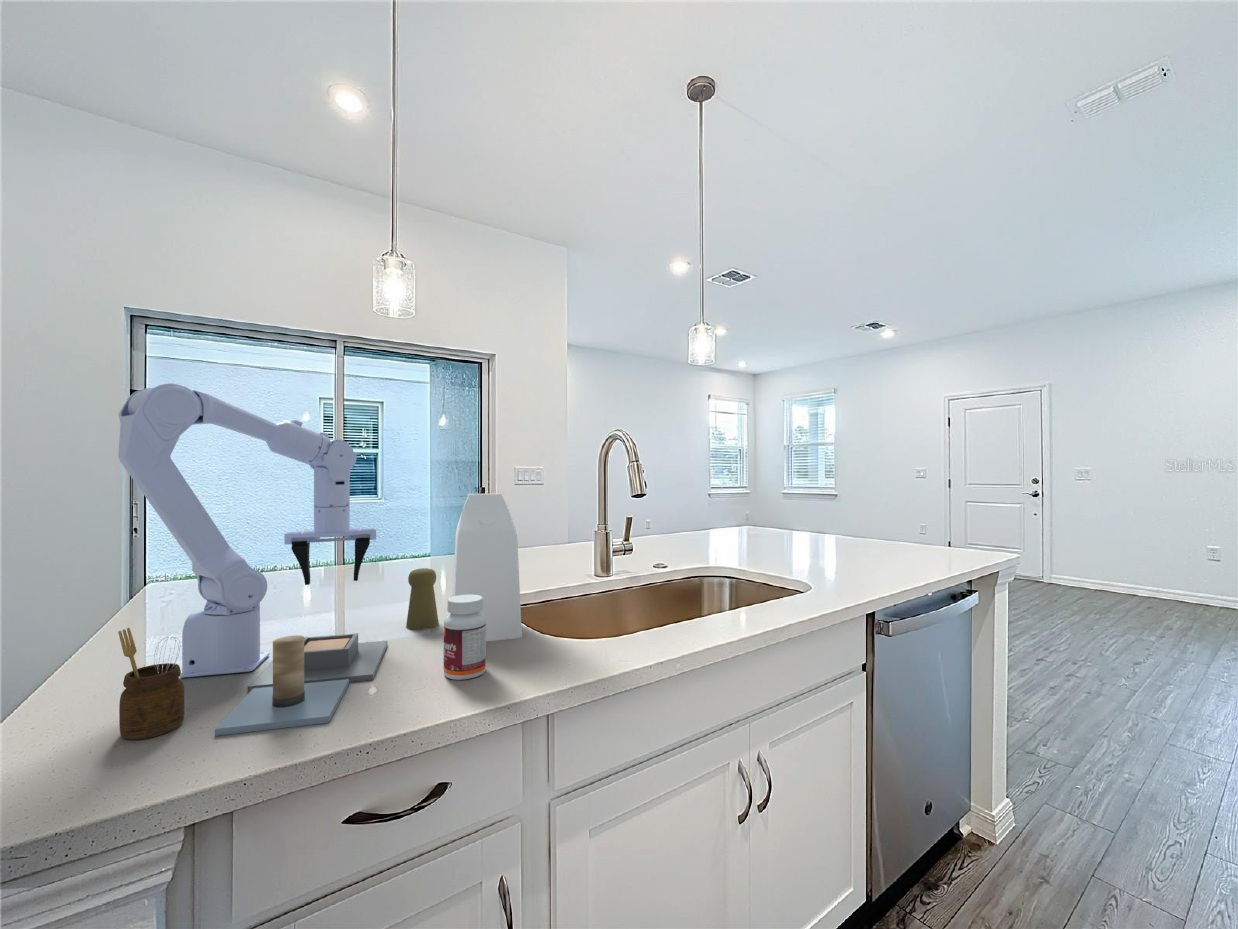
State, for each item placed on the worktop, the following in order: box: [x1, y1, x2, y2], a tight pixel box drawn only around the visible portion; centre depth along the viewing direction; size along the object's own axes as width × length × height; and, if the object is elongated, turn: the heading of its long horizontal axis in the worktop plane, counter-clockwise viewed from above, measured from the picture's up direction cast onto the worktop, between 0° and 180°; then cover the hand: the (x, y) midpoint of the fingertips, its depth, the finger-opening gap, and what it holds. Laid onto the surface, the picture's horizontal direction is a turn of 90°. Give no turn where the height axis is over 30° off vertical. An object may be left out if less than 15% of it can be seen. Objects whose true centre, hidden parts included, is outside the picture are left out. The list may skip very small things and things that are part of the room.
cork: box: [405, 567, 440, 631], centre depth 108 cm, size 6×6×11 cm
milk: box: [452, 492, 523, 642], centre depth 104 cm, size 12×12×26 cm
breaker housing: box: [247, 632, 388, 693], centre depth 86 cm, size 16×16×4 cm
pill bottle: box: [443, 595, 487, 681], centre depth 83 cm, size 6×6×11 cm
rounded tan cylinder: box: [272, 634, 305, 707], centre depth 71 cm, size 4×4×8 cm
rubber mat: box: [214, 679, 350, 737], centre depth 71 cm, size 12×12×1 cm
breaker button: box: [304, 638, 350, 651], centre depth 86 cm, size 6×6×2 cm
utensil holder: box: [117, 627, 185, 741], centre depth 66 cm, size 6×6×12 cm
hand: (332, 581), depth 99 cm, fingers open, 7 cm apart
